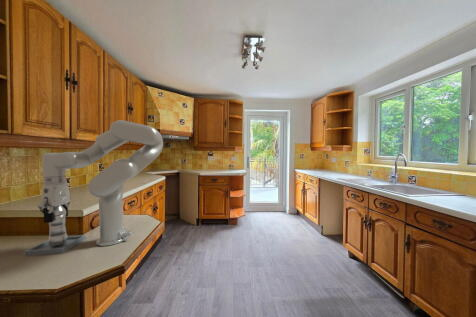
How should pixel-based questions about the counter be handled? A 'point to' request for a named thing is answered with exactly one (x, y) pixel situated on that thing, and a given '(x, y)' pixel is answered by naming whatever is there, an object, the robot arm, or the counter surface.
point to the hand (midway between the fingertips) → (56, 219)
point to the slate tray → (47, 249)
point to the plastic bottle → (58, 227)
